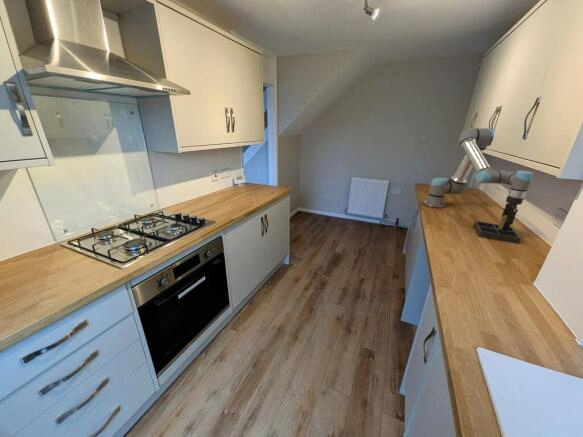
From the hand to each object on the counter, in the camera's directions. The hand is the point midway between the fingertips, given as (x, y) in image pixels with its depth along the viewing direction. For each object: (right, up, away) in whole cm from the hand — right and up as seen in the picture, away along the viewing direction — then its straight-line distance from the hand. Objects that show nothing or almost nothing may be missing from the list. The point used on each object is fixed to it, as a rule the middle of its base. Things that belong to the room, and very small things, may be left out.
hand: (502, 231), depth 153 cm
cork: (0, 0, 0) cm, 0 cm away
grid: (-6, -2, -1) cm, 7 cm away
